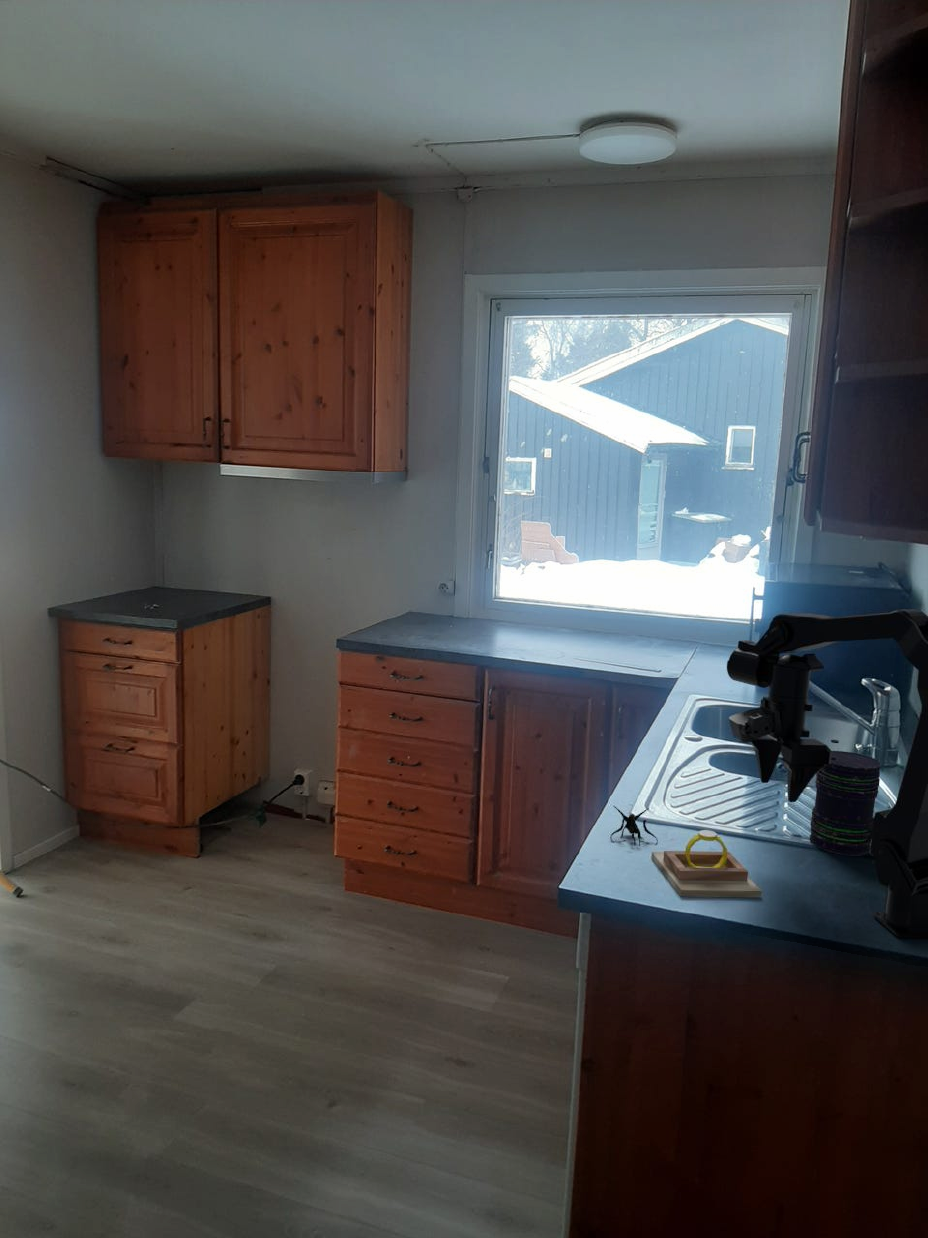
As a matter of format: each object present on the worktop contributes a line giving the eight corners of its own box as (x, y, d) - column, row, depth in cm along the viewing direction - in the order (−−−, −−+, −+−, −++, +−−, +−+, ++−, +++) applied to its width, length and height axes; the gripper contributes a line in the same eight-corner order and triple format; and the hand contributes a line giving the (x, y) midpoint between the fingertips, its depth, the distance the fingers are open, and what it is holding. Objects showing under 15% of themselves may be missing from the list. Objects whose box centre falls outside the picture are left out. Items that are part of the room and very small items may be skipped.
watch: (687, 874, 140) (688, 836, 139) (683, 867, 143) (684, 829, 142) (727, 874, 140) (728, 836, 139) (723, 867, 143) (724, 829, 142)
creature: (660, 856, 152) (651, 828, 159) (664, 828, 150) (655, 801, 157) (612, 853, 152) (605, 826, 159) (615, 825, 150) (608, 798, 157)
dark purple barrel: (855, 835, 163) (868, 735, 161) (881, 857, 154) (895, 751, 151) (799, 832, 163) (810, 732, 161) (822, 854, 153) (834, 748, 151)
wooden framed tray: (760, 897, 135) (762, 881, 135) (680, 896, 134) (682, 880, 134) (724, 858, 149) (726, 844, 149) (651, 857, 148) (652, 842, 147)
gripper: (714, 680, 152) (705, 773, 154) (766, 707, 134) (755, 812, 136) (778, 682, 154) (769, 774, 156) (838, 709, 135) (826, 813, 138)
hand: (777, 792), depth 146 cm, fingers open, 9 cm apart
